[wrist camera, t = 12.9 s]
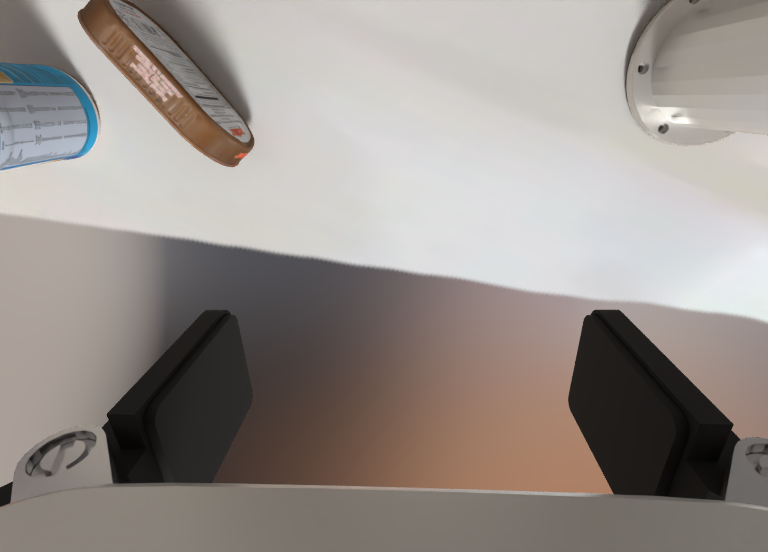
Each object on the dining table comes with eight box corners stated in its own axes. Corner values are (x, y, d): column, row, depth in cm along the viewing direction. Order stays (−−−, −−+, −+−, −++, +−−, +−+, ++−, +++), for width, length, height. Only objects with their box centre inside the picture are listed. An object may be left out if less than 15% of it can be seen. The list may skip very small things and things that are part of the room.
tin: (124, 24, 35) (43, 3, 27) (145, -4, 34) (68, -34, 26) (249, 162, 39) (210, 178, 31) (271, 141, 38) (237, 152, 30)
